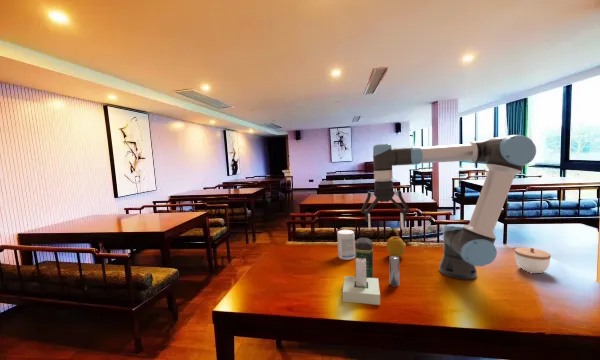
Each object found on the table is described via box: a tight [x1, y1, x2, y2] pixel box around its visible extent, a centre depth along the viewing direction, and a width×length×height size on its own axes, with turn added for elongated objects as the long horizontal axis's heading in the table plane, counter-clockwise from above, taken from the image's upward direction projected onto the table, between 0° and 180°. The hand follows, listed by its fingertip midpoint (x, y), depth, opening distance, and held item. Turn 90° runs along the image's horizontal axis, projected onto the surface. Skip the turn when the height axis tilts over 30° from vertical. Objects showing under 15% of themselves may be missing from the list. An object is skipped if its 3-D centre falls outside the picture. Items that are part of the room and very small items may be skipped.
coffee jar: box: [355, 237, 374, 278], centre depth 120 cm, size 10×8×19 cm
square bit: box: [355, 257, 366, 288], centre depth 107 cm, size 4×4×14 cm
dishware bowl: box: [514, 247, 551, 274], centre depth 123 cm, size 13×13×11 cm
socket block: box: [342, 275, 381, 306], centre depth 107 cm, size 14×14×4 cm
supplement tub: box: [336, 229, 356, 261], centre depth 147 cm, size 10×10×15 cm
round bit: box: [388, 255, 400, 287], centre depth 114 cm, size 4×4×12 cm
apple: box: [386, 236, 406, 259], centre depth 145 cm, size 10×10×12 cm
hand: (385, 228), depth 114 cm, fingers open, 13 cm apart
